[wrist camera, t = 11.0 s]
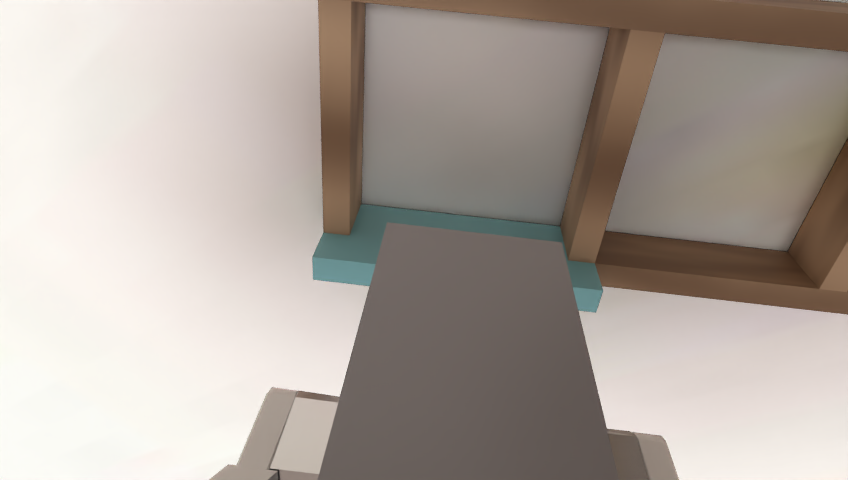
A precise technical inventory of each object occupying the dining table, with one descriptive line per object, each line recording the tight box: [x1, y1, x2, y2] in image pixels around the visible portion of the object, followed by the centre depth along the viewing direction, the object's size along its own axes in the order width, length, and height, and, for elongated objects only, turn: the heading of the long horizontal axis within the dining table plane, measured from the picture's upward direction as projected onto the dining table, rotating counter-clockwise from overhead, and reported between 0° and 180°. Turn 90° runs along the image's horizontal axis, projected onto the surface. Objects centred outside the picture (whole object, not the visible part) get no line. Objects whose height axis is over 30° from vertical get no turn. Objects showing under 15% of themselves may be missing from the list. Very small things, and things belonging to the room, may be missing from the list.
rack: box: [312, 0, 848, 314], centre depth 22 cm, size 12×35×5 cm, turn 85°
